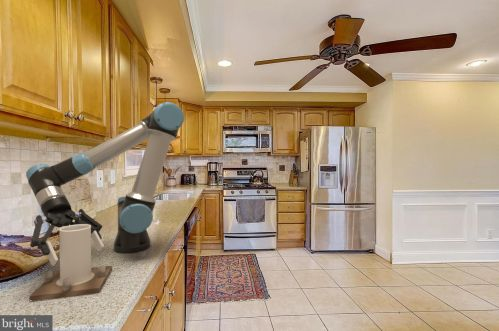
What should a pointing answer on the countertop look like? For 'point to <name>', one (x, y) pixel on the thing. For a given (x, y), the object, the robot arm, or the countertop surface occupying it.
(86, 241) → the cup
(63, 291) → the locator plate
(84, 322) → the countertop surface
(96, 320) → the countertop surface
